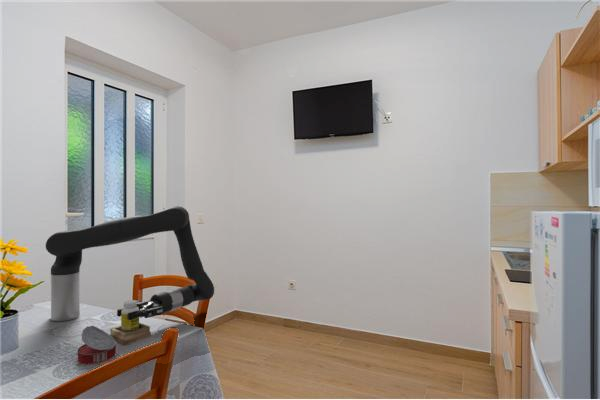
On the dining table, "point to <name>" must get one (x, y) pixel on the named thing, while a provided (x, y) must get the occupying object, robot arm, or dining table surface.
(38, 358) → the dining table surface
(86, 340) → the canned food
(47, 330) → the dining table surface
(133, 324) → the supplement bottle
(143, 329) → the wooden box
